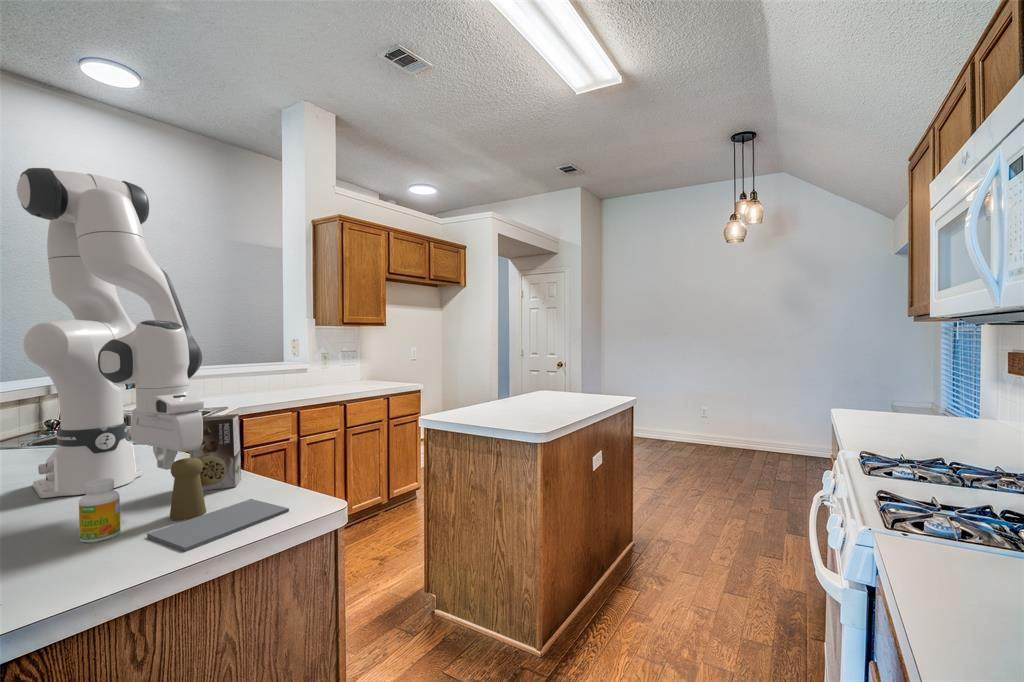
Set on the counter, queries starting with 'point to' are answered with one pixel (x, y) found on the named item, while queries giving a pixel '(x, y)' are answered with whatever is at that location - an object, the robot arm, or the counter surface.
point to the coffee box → (219, 452)
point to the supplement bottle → (99, 511)
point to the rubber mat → (216, 524)
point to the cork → (187, 490)
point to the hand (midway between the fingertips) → (165, 468)
